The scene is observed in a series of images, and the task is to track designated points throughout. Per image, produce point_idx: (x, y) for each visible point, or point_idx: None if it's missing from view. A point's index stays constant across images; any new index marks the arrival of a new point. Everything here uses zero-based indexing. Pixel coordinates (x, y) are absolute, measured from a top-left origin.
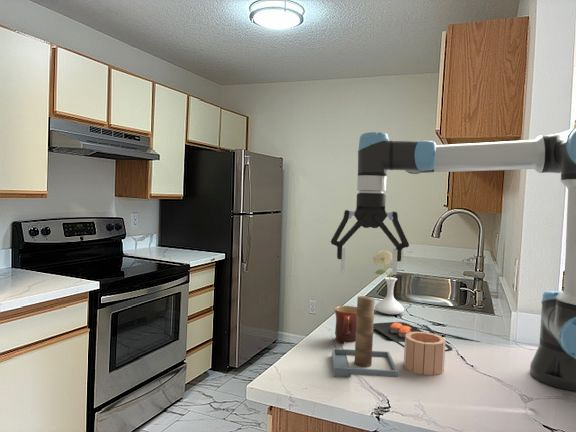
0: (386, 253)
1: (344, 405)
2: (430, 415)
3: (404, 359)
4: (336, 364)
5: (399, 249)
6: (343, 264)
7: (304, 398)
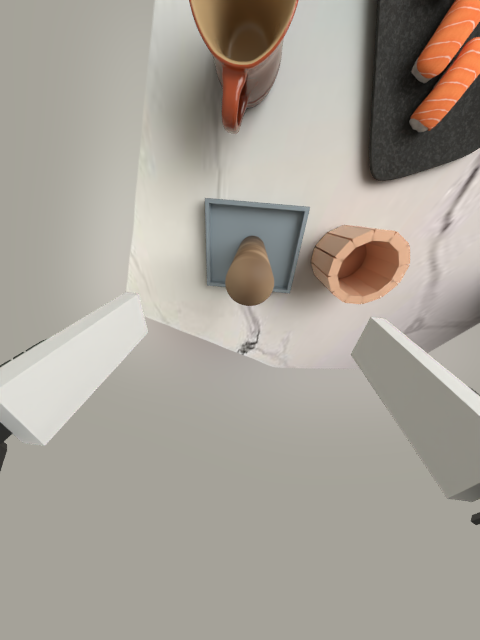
0: None
1: (216, 340)
2: (287, 354)
3: (317, 254)
4: (212, 252)
5: (477, 517)
6: (123, 354)
7: (180, 330)
